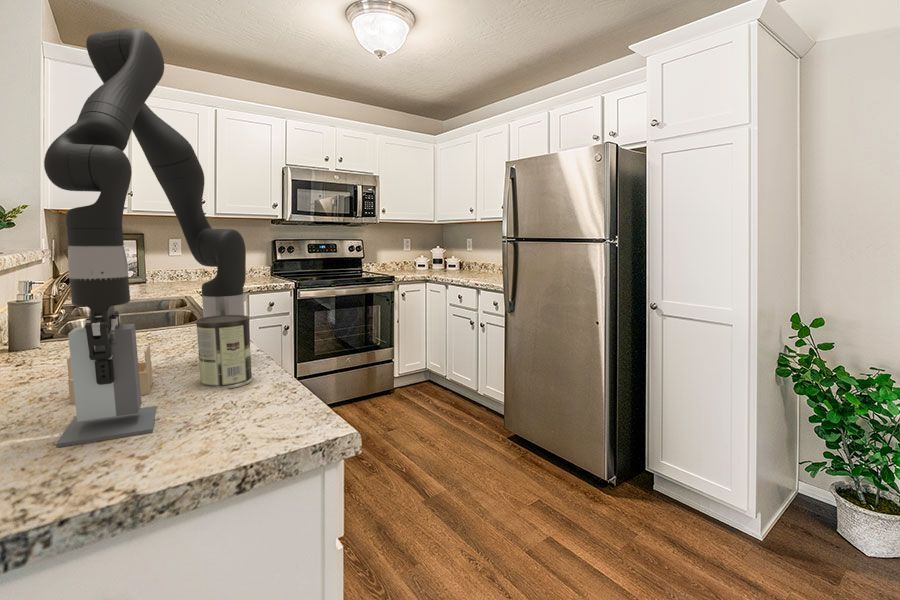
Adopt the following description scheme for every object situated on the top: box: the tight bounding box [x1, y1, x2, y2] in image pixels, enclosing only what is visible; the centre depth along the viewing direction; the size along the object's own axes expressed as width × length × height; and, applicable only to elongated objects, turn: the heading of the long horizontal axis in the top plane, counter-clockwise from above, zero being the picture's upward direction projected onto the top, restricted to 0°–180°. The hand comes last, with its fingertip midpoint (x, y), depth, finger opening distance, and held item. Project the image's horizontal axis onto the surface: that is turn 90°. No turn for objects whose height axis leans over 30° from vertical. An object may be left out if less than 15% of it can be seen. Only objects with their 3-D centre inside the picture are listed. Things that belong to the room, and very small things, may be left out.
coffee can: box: [195, 314, 253, 389], centre depth 101 cm, size 10×10×14 cm
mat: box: [55, 405, 158, 448], centre depth 77 cm, size 12×12×1 cm
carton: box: [66, 343, 154, 405], centre depth 92 cm, size 12×9×9 cm
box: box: [67, 323, 143, 422], centre depth 76 cm, size 8×5×14 cm, turn 118°
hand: (108, 378), depth 76 cm, fingers open, 5 cm apart
